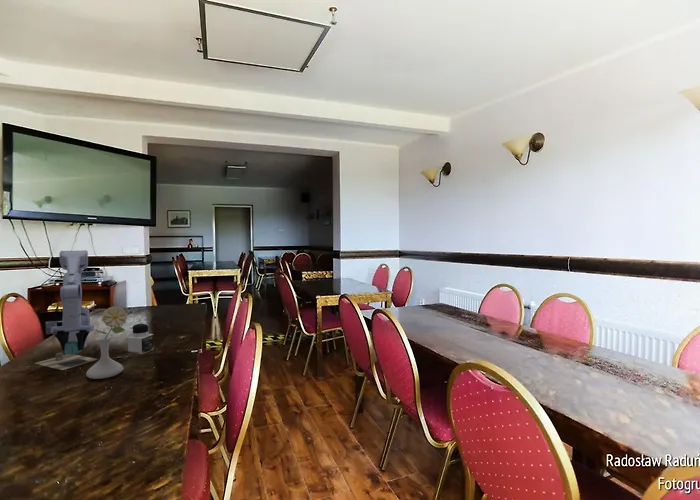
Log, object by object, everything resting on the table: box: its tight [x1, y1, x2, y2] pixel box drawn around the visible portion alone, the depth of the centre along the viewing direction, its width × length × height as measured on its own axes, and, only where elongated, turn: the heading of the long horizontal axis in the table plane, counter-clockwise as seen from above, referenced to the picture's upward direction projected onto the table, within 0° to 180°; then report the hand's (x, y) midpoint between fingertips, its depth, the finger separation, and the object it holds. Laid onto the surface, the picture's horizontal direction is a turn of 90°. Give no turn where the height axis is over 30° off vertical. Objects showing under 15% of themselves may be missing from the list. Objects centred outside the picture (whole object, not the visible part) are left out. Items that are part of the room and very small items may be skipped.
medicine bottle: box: [127, 323, 155, 355], centre depth 164 cm, size 7×7×12 cm
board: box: [34, 352, 99, 371], centre depth 149 cm, size 18×13×4 cm
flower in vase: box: [85, 306, 128, 380], centre depth 137 cm, size 13×11×25 cm
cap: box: [64, 340, 83, 355], centre depth 147 cm, size 5×5×4 cm
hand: (73, 349), depth 147 cm, fingers closed on cap, 5 cm apart
